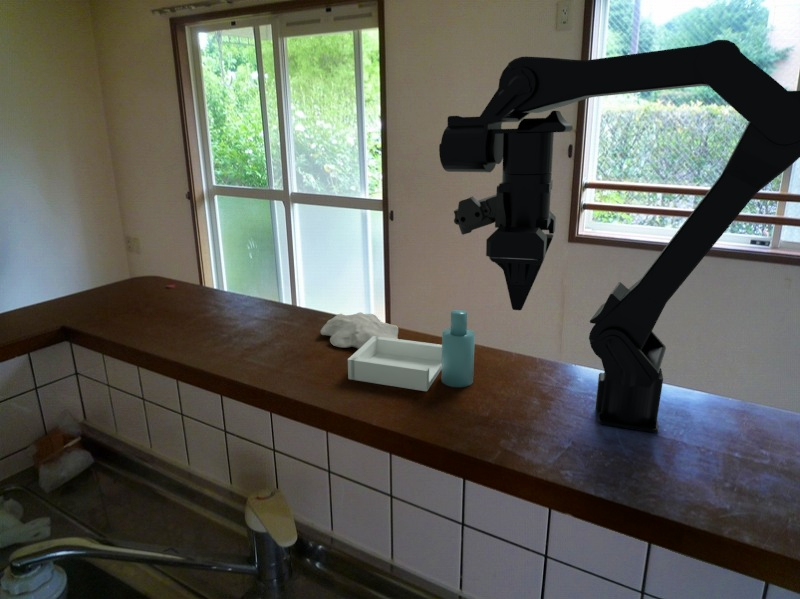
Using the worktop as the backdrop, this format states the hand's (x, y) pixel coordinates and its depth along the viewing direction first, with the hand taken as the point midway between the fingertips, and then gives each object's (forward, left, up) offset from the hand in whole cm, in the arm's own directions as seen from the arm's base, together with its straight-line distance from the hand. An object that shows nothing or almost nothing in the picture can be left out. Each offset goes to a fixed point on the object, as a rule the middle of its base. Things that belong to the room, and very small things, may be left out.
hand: (521, 298), depth 70 cm
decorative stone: (+27, -10, -13) cm, 31 cm away
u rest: (+17, -1, -13) cm, 21 cm away
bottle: (+8, -1, -13) cm, 15 cm away
